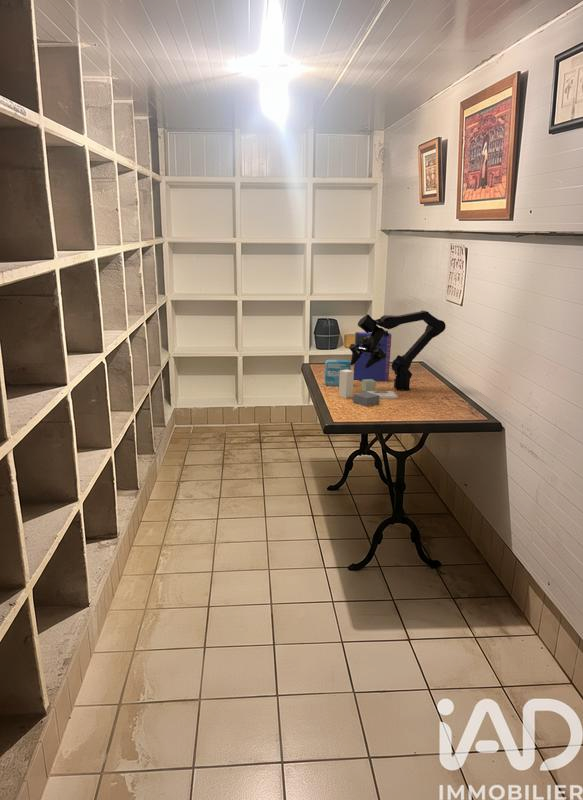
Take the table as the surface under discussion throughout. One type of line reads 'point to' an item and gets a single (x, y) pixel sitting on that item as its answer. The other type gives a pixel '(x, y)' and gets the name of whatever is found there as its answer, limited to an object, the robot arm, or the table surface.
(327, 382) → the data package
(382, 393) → the tile
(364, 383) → the sage cube
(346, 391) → the cream block
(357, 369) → the cereal box
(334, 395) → the table surface
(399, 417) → the table surface
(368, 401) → the charcoal slab
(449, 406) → the table surface
